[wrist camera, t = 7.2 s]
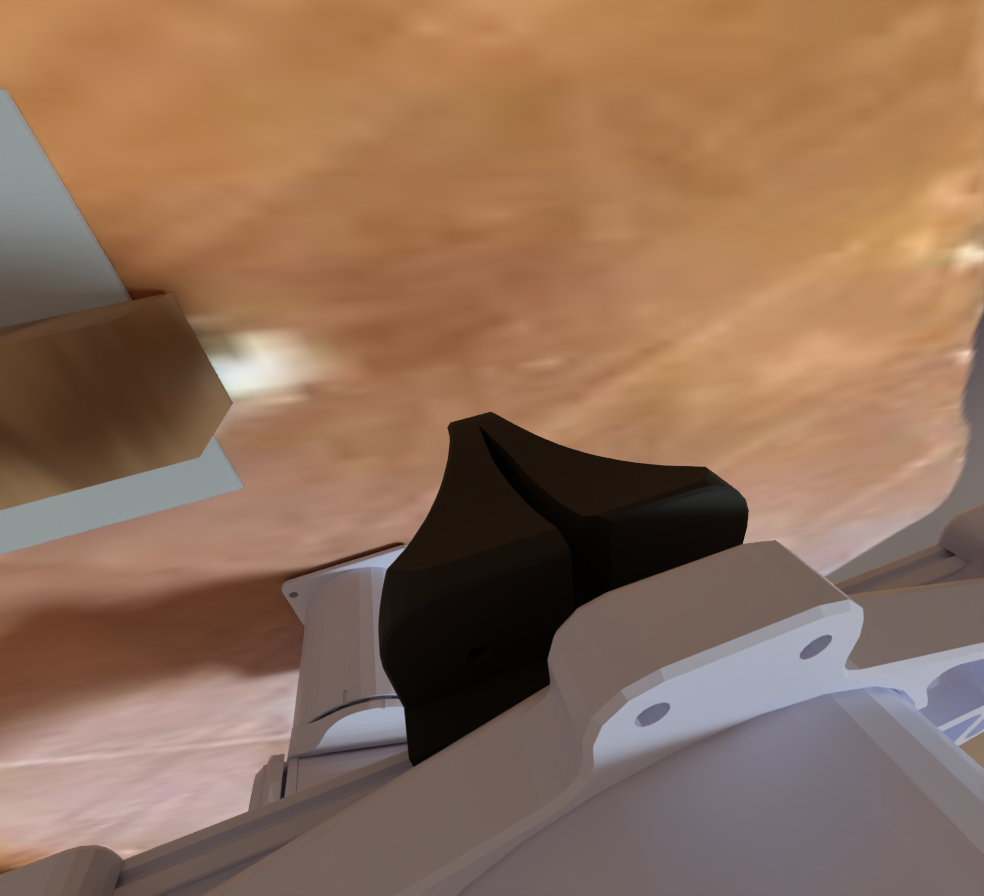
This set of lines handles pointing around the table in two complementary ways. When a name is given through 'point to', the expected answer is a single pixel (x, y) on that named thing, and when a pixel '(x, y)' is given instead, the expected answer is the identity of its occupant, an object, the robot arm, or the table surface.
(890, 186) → the table surface
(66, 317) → the walnut block
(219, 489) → the rubber mat
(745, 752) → the robot arm
